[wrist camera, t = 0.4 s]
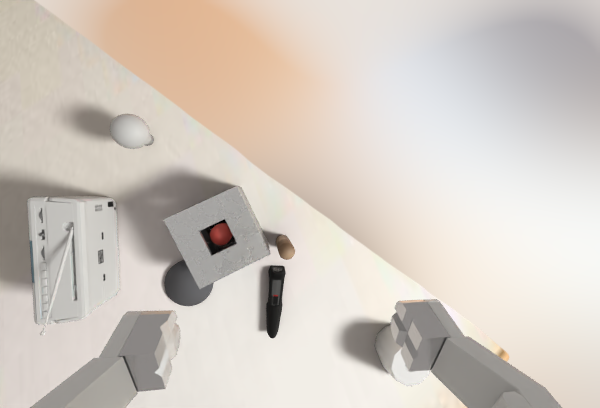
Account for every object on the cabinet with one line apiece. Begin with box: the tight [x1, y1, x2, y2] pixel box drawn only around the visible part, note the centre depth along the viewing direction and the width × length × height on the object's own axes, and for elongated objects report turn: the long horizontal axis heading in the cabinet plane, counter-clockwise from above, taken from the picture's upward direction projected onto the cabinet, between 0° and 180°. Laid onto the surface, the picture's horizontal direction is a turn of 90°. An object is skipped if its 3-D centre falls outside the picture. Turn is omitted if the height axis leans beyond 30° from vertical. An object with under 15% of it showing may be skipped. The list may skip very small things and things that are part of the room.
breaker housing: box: [163, 186, 270, 289], centre depth 54 cm, size 14×14×11 cm
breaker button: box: [210, 223, 233, 245], centre depth 53 cm, size 4×4×3 cm
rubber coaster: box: [165, 260, 213, 306], centre depth 58 cm, size 10×10×1 cm
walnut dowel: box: [276, 235, 295, 260], centre depth 56 cm, size 3×3×11 cm
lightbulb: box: [110, 114, 154, 149], centre depth 51 cm, size 6×6×11 cm
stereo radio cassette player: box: [27, 196, 120, 335], centre depth 46 cm, size 21×8×20 cm, turn 1°
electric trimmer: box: [266, 266, 285, 338], centre depth 60 cm, size 4×16×3 cm, turn 175°
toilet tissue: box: [375, 325, 430, 386], centre depth 62 cm, size 9×13×9 cm
